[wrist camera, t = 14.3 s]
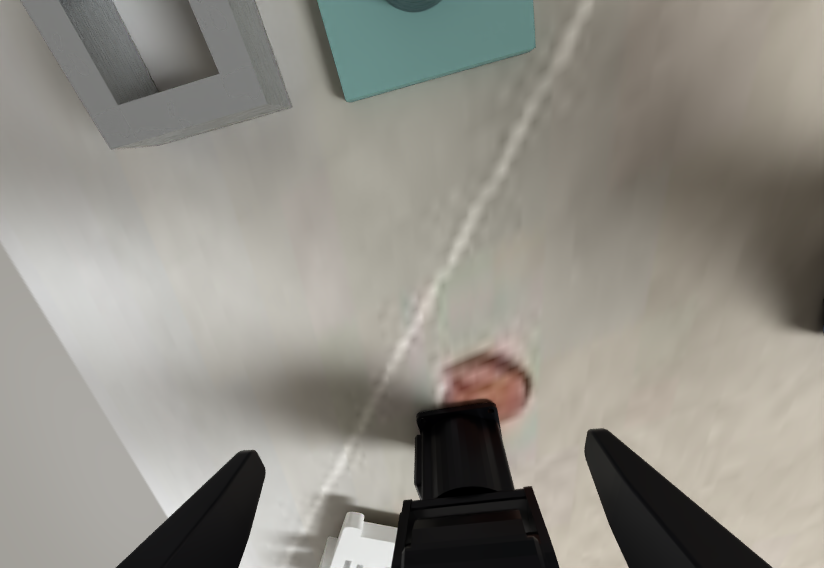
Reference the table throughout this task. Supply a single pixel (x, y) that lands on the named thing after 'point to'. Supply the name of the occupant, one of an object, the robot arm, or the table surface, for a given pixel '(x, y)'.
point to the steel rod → (413, 5)
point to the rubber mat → (420, 40)
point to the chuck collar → (132, 84)
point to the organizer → (360, 545)
